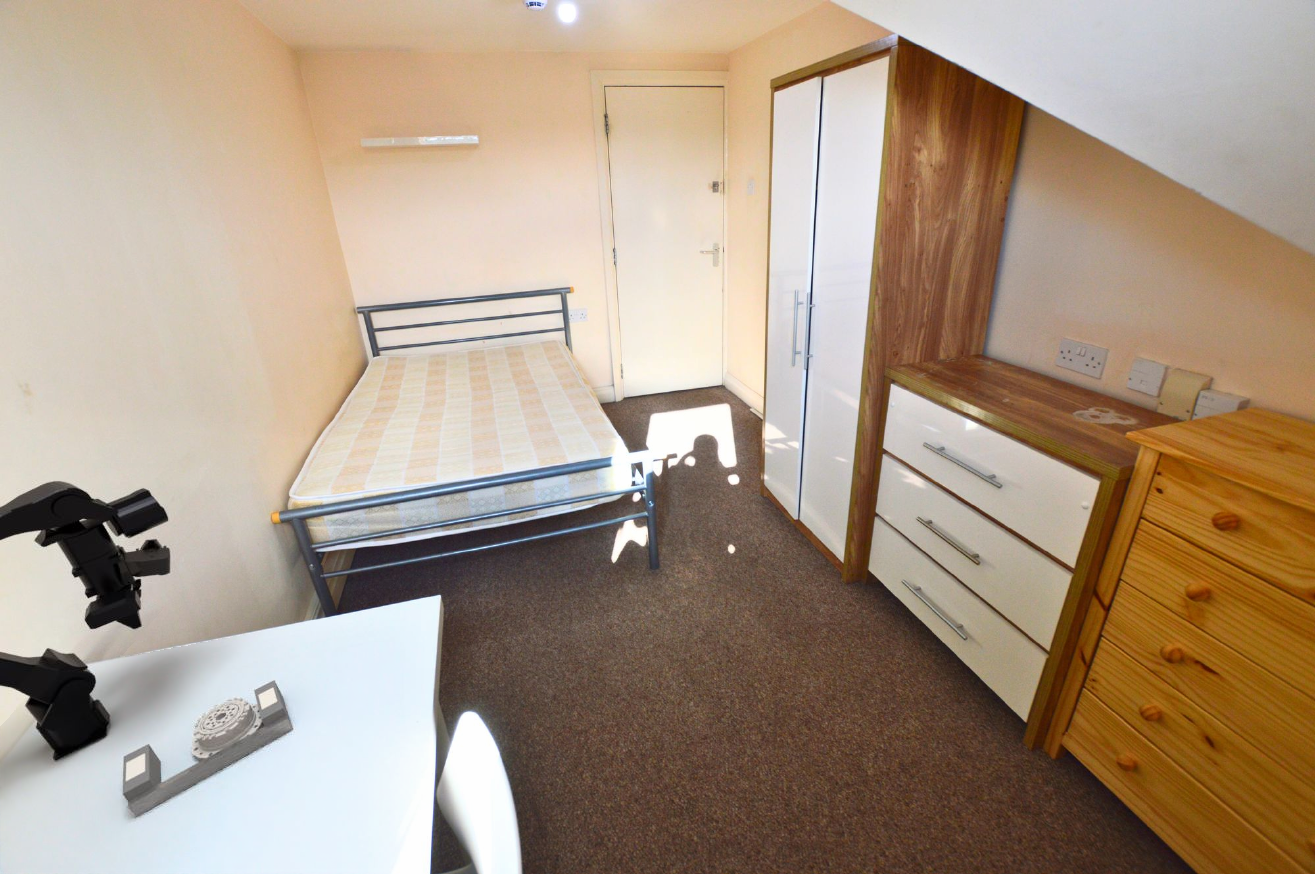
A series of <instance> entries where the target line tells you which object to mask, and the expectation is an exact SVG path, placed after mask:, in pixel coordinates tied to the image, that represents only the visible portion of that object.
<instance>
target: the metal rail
mask: <svg viewBox="0 0 1315 874" xmlns="http://www.w3.org/2000/svg"><path fill="white" fill-rule="evenodd" d="M290 721H291V720H290ZM290 721H289V719H288V717H287V715H285V716H283V717H281V718H279V719H277V720H276V721H274V722H272V723H270V724H268V725H266V726H264V727H263V728H261V729H259V730H257V731H255V732H254V733H252V734H250V735H248V736H246V737H244V738H243V739H241V740H239V741H237V742H235V743H233V744H232V745H230V746H228V747H226V748H224V749H222V750H220V751H219V752H217V753H215V754H213V755H211V756H209V757H208V758H206V759H204V760H202V761H198V762H197V763H195V764H193V765H191V766H190V767H188V768H186V769H184V770H182V771H180V772H178V773H176V774H175V775H173V776H171V777H169V778H167V779H165V780H163V781H161V783H160V784H158V785H156V786H154V787H152V788H151V789H149V790H147V791H145V792H143V793H141V794H140V795H138V796H136V797H134V798H132V799H130V800H129V801H127V808H128V809H129V810H130V811H131V813H132V814H133V816H134V817H135V818H137V817H139V816H141V815H143V814H145V813H146V812H148V811H150V810H151V809H153V808H155V807H157V806H159V805H160V804H163V803H165V802H166V801H168V800H169V799H171V798H173V797H174V796H176V795H177V796H178V794H180V793H183V792H184V791H186V790H187V789H189V788H191V787H193V786H194V785H197V784H198V783H200V782H201V781H203V780H205V779H207V778H209V777H211V776H212V775H214V774H216V773H218V772H220V771H221V770H223V769H225V768H226V767H228V766H230V765H232V764H234V763H236V762H237V761H240V759H243V758H245V757H247V756H248V755H249V754H251V753H254V752H255V751H257V750H259V749H261V748H262V747H265V746H266V745H268V744H269V743H272V742H273V741H275V740H277V739H278V738H280V737H281V736H282V737H283V736H284V735H285V734H287V733H289V732H290V731H293V730H294V729H293V725H292V722H291V723H290Z"/></svg>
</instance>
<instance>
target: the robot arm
mask: <svg viewBox="0 0 1315 874" xmlns="http://www.w3.org/2000/svg"><path fill="white" fill-rule="evenodd" d="M167 522H169V516H168V514H167V512H166V510H165V507H163V506H161V504H160V503H159V502H158V500H157V499H156V498H155V497H154V496H153V495H152V493H151V491H150V490H149V489H146V488H144V487H142V488H139V489H137V490H135V491H133V492H131V493H130V494H128V495H125V496H123V497H120V498H117V499H114V500H113V501H109V502H106V501H103V500H101V499H99V498H93V497H91V495H90V494H89V493H88V492H87V491H85V490H83V489H82V488H80V487H78V486H75V485H74V484H72V483H69V482H66V481H61V480H57V481H56V480H55V481H49V482H46V483H42V484H41V485H39V486H36V487H34V488H32V489H30V490H28V491H26V492H24V493H22V494H19V495H18V496H16V497H15V498H13V499H12V500H10V501H9V502H7V503H6V504H4V505H2V506H0V541H2V540H5V539H7V538H10V537H14V536H17V535H21V534H24V533H32V532H38V531H39V533H38V535H36V537H35V538H34V542H35V543H37V544H38V545H39V546H40V547H42V548H47V547H49V546H52V545H54V544H56V543H57V545H58V546H59V548H60V550H61V551H62V553H63V554H64V556H65V558H66V559H67V561H68V562H69V564H70V565H71V567H72V569H71V575H72V576H73V577H74V579H75V578H79V580H80V581H81V583H82V585H83V586H84V587H85V589H84V595H85V597H87V599H90V598H93V597H95V600H94V601H91V602H90V603H89V604H88V606H87V607H86V609H85V613H84V622H85V623H86V624H87V626H88V627H89V630H96V629H99V628H101V627H103V626H107V625H109V624H111V623H114V622H117V623H119V624H121V625H124V626H126V627H128V628H130V629H132V630H137V629H140V628H141V627H142V625H143V624H142V619H141V615H140V610H142V601H141V598H142V589H141V587H142V579H141V578H142V577H151V576H159V577H160V576H166V575H168V574H170V573H171V549H170V548H169V547H167V545H163V546H162V544H161V543H160V542H159V540H158V539H156V538H153V539H146V540H145V541H144V543H143V544H142V545H141V547H140V548H138V547H137V548H135V550H133V551H126V550H125V548H124V546H120V545H119V544H118V545H116V543H115V542H114V540H113V538H112V537H111V535H110V533H109V532H108V530H107V528H106V527H105V524H104V523H106V526H107V527H108V528H109V530H110V531H111V533H112V534H114V536H115V537H120V536H122V535H123V536H124V537H125V538H127V539H131V538H133V537H136V536H138V535H140V534H142V533H145V532H147V531H150V530H152V529H154V528H156V527H159V526H161V525H163V524H165V523H167ZM136 578H137V579H136ZM88 668H89V666H88V665H87V664H86V663H85V662H84V661H83V660H81V659H80V658H79V656H78V655H76V654H75V653H74V652H72V653H71V652H70V653H64V652H59V651H57V650H55V649H53V648H49V647H47V648H46V649H45V651H44V652H43V653H42V655H41V656H30V657H27V656H20V655H16V654H11V653H8V652H3V651H0V687H5V688H10V689H14V690H16V691H18V692H20V693H22V694H24V695H25V696H27V697H28V699H27V700H26V703H25V705H24V706H25V708H26V710H27V711H28V712H29V713H30V714H31V716H33V718H34V719H35V721H36V725H35V729H36V730H37V732H38V733H40V735H41V737H42V738H43V739H44V740H45V741H46V742H47V744H48V745H49V747H50V748H51V749H52V750H53V754H52V755H53V756H52V759H53V760H54V761H58V760H60V759H62V758H65V757H66V756H69V755H71V754H73V753H76V752H77V751H79V750H81V749H83V748H86V747H87V746H89V745H91V744H93V743H94V744H95V742H99V741H100V740H102V739H104V738H106V737H107V735H108V727H109V725H110V717H111V714H109V712H108V710H107V709H106V707H105V706H104V705H103V704H102V702H101V701H100V699H99V698H98V699H94V698H93V697H92V696H91V694H92V693H93V690H94V689H95V688H96V683H97V680H96V679H97V678H96V676H95V674H94V673H92V671H90V669H88Z"/></svg>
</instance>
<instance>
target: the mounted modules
mask: <svg viewBox="0 0 1315 874" xmlns="http://www.w3.org/2000/svg"><path fill="white" fill-rule="evenodd" d="M253 691H254V692H253V693H254V694H255V695H254V696H255V699H256V704H258V708H259V712H260V716H261V720H262V722H263V724H264V725H265V726H266V725H268V724H270V723H272V722H274V721H276V720H277V719H279V718H281V717H283V716H285V715H287V717H288V719H289V721H290V723H291V724H292V721H291V719H290V716H289V712H288V709H287V706H286V702H285V699H284V696H283V694H282V692H281V690H280V688H279V686H278V684H277V683H276V680H275V679H273V680H272V681H269V682H268V683H266V684H264V685H261V686H260V687H258V688H256V689H254V690H253ZM265 726H264V727H265ZM122 762H123V768H122V795H123V797H124V799H126V801H127V802H128V801H129V800H130V799H132V798H134V797H136V796H138V795H140V794H141V793H143V792H145V791H147V790H149V789H151V788H152V787H154V786H156V785H158V784H160V783H162V768H161V767H162V765H161V760H160V759H159V757H158V755H157V754H156V752H155V751H154V749H153V748H152V747H151V745H150V744H149V743H147V744H145V745H144V746H142V747H140V748H138V749H135V750H133V751H132V752H129V753H128V754H126V755H124V756H123V761H122Z"/></svg>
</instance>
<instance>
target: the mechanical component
mask: <svg viewBox="0 0 1315 874" xmlns="http://www.w3.org/2000/svg"><path fill="white" fill-rule="evenodd" d="M263 727H265V725H264V724H263V722H262V720H261V716H260V712H259V708H258V704H257V703H249V701H248V700H246V699H243V698H242V697H239V698H238V697H234V698H233V699H231V698H229V699H227V700H226V701H224V702H222V703H221V704H215V705H214V706H213V708H211V709H210V710H209V711H208V712H206V713H205V712H204V713H203V714H202V716H201V717H200V718H198V719H197V722H196V723H195V724H194V729H193V736H194V739H193V740H192V743H191V746H190V749H191V752H192V754H193V755H192V756H193V757H194V759H196V760H197V761H198V762H200V761H202V760H204V759H206V758H208V757H209V756H211V755H213V754H215V753H217V752H219V751H220V750H222V749H224V748H226V747H228V746H230V745H232V744H233V743H235V742H237V741H239V740H241V739H243V738H244V737H246V736H248V735H250V734H252V733H254V732H255V731H257V730H259V729H261V728H263Z"/></svg>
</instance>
